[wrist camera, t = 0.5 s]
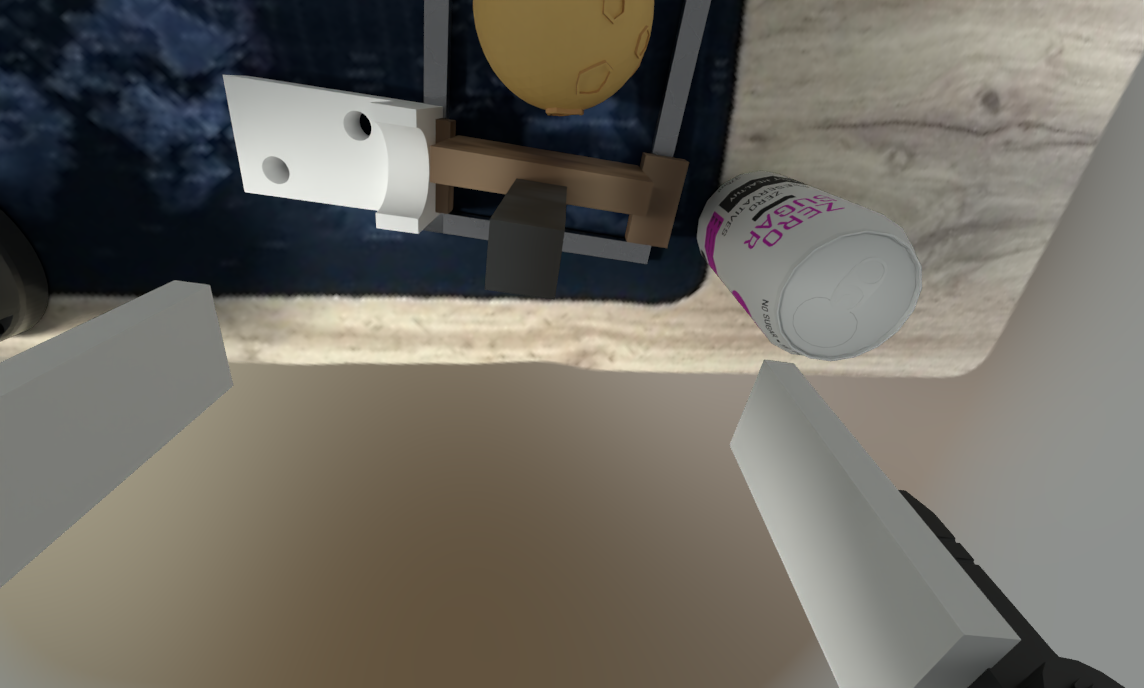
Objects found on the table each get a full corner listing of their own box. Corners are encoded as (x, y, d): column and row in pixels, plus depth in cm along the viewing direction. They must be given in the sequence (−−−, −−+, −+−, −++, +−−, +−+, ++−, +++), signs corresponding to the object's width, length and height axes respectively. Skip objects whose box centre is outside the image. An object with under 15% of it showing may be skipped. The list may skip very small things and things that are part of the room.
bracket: (447, 106, 33) (416, 109, 26) (446, 207, 36) (418, 233, 29) (256, 76, 32) (173, 72, 25) (273, 183, 35) (204, 204, 29)
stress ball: (475, 34, 31) (504, 163, 29) (436, -152, 22) (476, 21, 19) (618, 9, 32) (658, 133, 30) (643, -181, 22) (704, -18, 20)
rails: (426, 226, 36) (423, 230, 35) (431, -329, 23) (425, -345, 22) (645, 260, 38) (647, 264, 37) (767, -248, 24) (774, -261, 24)
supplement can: (755, 291, 39) (849, 393, 26) (674, 244, 37) (730, 328, 24) (823, 204, 36) (973, 270, 22) (738, 148, 34) (846, 184, 20)
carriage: (415, 199, 35) (293, 284, 20) (415, 112, 32) (272, 130, 17) (661, 238, 36) (726, 344, 21) (681, 157, 34) (773, 212, 18)
